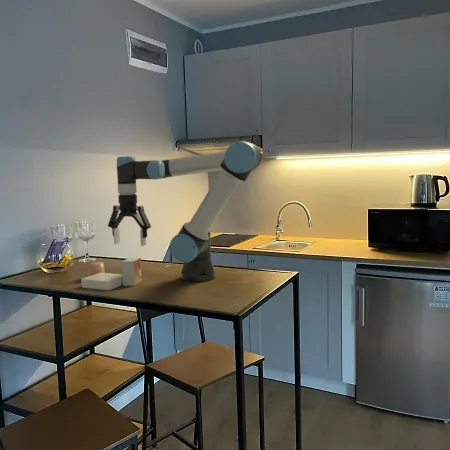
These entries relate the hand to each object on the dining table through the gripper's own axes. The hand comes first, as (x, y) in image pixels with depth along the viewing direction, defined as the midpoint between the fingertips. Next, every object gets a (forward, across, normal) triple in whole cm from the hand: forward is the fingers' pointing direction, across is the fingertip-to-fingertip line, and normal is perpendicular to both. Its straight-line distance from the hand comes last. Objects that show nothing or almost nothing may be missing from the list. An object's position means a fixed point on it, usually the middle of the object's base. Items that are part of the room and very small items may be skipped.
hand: (130, 244), depth 191 cm
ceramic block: (+17, +10, +6) cm, 21 cm away
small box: (+17, 0, 0) cm, 17 cm away
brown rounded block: (+17, +21, -2) cm, 27 cm away
